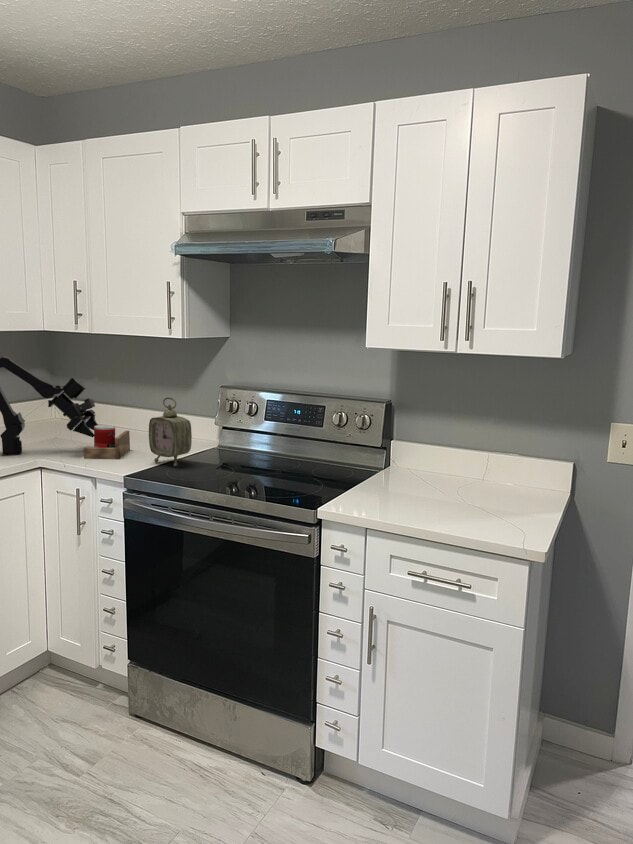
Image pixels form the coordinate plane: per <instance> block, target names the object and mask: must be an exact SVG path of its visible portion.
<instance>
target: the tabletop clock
mask: <svg viewBox="0 0 633 844" xmlns="http://www.w3.org/2000/svg"><path fill="white" fill-rule="evenodd" d="M167 400H170V401H171V400H172V401H173V403H174V406H172V405H171V404H168V406H167V405H166V404H165V402H166V401H167ZM162 404H163V406H164V407H165V408H166V409H165V410H164V412H163V413H162V416H155V417H151V418H150V419H149V422H148V442H149V450H150V452H151V453H152V454H154V455H156V456H157V457H156V458H154V459H153V461H154V462H155V463H158V462H159V461H160V460H159V459H160V457H163V458H173V467H175V466H177V467H178V466H179V463H178V462H179V460H178V456H182V455H187V454H188V453H189V452H190V451H191V449H192V442H193V441H192V439H193V437H192V436H193V434H192V424H191V420H190V419H187V418H186V417H183V416H180V415H178V414H177V411H175V410H174V409H175V408H176V407H177V401H176V399H174V398H173V397H164V399H163V401H162ZM174 461H175V462H174Z"/></svg>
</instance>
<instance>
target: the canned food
mask: <svg viewBox="0 0 633 844" xmlns="http://www.w3.org/2000/svg"><path fill="white" fill-rule="evenodd" d="M93 434H94V437H93V448H115V438H116V425H112V424H98V425H97V426H94V430H93Z"/></svg>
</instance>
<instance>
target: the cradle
mask: <svg viewBox="0 0 633 844" xmlns="http://www.w3.org/2000/svg"><path fill="white" fill-rule="evenodd" d="M130 438H131V437H130V430H124V431H123V432H121V433H120V434H119V435H118V436H117V437H116V436H115V448H94V447H84V448H83V459H87V460H89V459H92V460H93V459H95V460H98V459H102V460H108V459H109V460H110V459H111V460H115V459H116V460H121V459H122V458H123V457H124V456H125V455H126V454H127V453H128V452H129V451H131V445H130V444H131V443H130V442H131V441H130Z"/></svg>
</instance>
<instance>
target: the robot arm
mask: <svg viewBox="0 0 633 844" xmlns="http://www.w3.org/2000/svg"><path fill="white" fill-rule="evenodd" d="M1 368H4V369H5V370H7V371H9V372H10V373H11V374H13V375H15V376H16V377H18V378H19V379H21V380H23V382H26V383H27V384H29V385H30V386H31V387H32V388H33V389H34V391H36V392H37V393H38V394H39V395H40V396H41V397H42V398H44V399H48V400H47V403H48V404H47V407H48V408H53V407H54V406H55V407H56V408H57V409H58V410H59V411H60V412H61V413H63V414H62V416H63V417H64V418H65V417H67V418H68V419H69V421H68V423H66V428H67V429H68V430H69V431H72V432H75V433H79V434H82V435H84V436H87V437H91V438H94V432H93V431H94V426H97V425H99V424H98V423H97V421H96V412H95V411H94V410H93V409H92V408H94V407H96V405H95V400H93V399H92V398H89V397H88V398H86V399H84V402H83V403H80V404H79V403H77V402H74V401H73V400H72V399H77V398H78V397H80V395H81V394H82V393H83V392H84V391H85V390H86V389H87V388H86V386H85V385H84V384H83V383H82V382H80V381H79V380H77V379H75V377H70V379H69V380H68V382H67V383H66V384H65V385H56V384H55V383H53V382H52V381H49V380H47V379H44V378H42V377H39V376H37V375H35V374H34V373H33V372H31V371H29V369H26V368H25V367H24V366H22V365H20V364H19V363H17V361H16V362H15V361H14V360H13V359H12V358H11V357H10V356H3V357H0V369H1ZM58 394H59V395H58ZM50 398H52V399H51V400H50ZM0 413H1V415H2V420H3V424H4V427H5V430H4V431H3V432H2V433H1V434H0V438H1V447H2V453H1V455H2V454H12V455H11V456H13V454H15V455H21V454H22V452H23V445H22V442H23V441H22V439H21V438H20V434H21V433H22V432H23V431H24V430H25V427H26V424H25V422H26V420H25V419H24V418H23V415H22V413H21V412H18V413H17V412H16V411H15V410H14V409H13V408H12V406H11V404H10V401H8V398H7V397H6V395H5V392H4V391H3V390H2V387H1V386H0Z"/></svg>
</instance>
